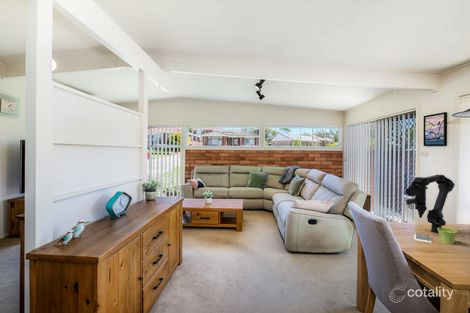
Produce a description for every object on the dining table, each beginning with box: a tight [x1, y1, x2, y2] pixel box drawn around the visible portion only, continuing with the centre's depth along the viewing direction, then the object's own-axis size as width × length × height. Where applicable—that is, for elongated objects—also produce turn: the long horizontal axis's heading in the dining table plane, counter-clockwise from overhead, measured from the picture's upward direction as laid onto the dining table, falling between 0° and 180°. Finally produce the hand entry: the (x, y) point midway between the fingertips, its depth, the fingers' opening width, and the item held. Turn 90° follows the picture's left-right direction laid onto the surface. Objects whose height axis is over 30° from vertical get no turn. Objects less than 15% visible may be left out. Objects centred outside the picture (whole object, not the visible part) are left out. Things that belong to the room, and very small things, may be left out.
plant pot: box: [437, 227, 458, 246], centre depth 152 cm, size 9×9×9 cm
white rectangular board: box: [413, 233, 432, 244], centre depth 160 cm, size 14×9×1 cm, turn 142°
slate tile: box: [415, 232, 430, 241], centre depth 160 cm, size 2×7×8 cm
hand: (420, 217), depth 168 cm, fingers closed
